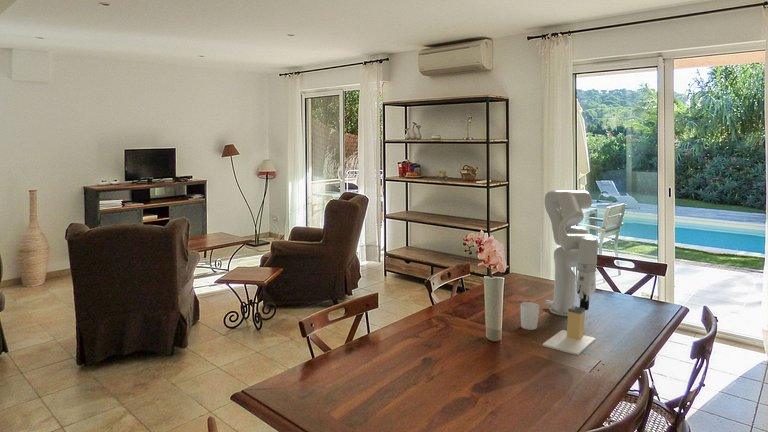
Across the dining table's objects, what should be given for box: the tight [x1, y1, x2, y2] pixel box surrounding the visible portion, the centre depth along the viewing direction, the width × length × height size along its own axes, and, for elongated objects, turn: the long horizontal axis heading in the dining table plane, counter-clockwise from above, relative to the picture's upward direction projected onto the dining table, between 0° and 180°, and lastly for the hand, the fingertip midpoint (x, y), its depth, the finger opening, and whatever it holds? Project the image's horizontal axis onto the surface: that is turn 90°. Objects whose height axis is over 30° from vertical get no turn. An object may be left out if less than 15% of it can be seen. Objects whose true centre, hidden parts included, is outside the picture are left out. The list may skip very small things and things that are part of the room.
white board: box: [542, 329, 597, 356], centre depth 206 cm, size 14×20×1 cm
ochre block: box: [566, 305, 586, 340], centre depth 209 cm, size 5×5×12 cm
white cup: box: [520, 301, 540, 331], centre depth 222 cm, size 8×8×10 cm
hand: (584, 309), depth 215 cm, fingers closed
